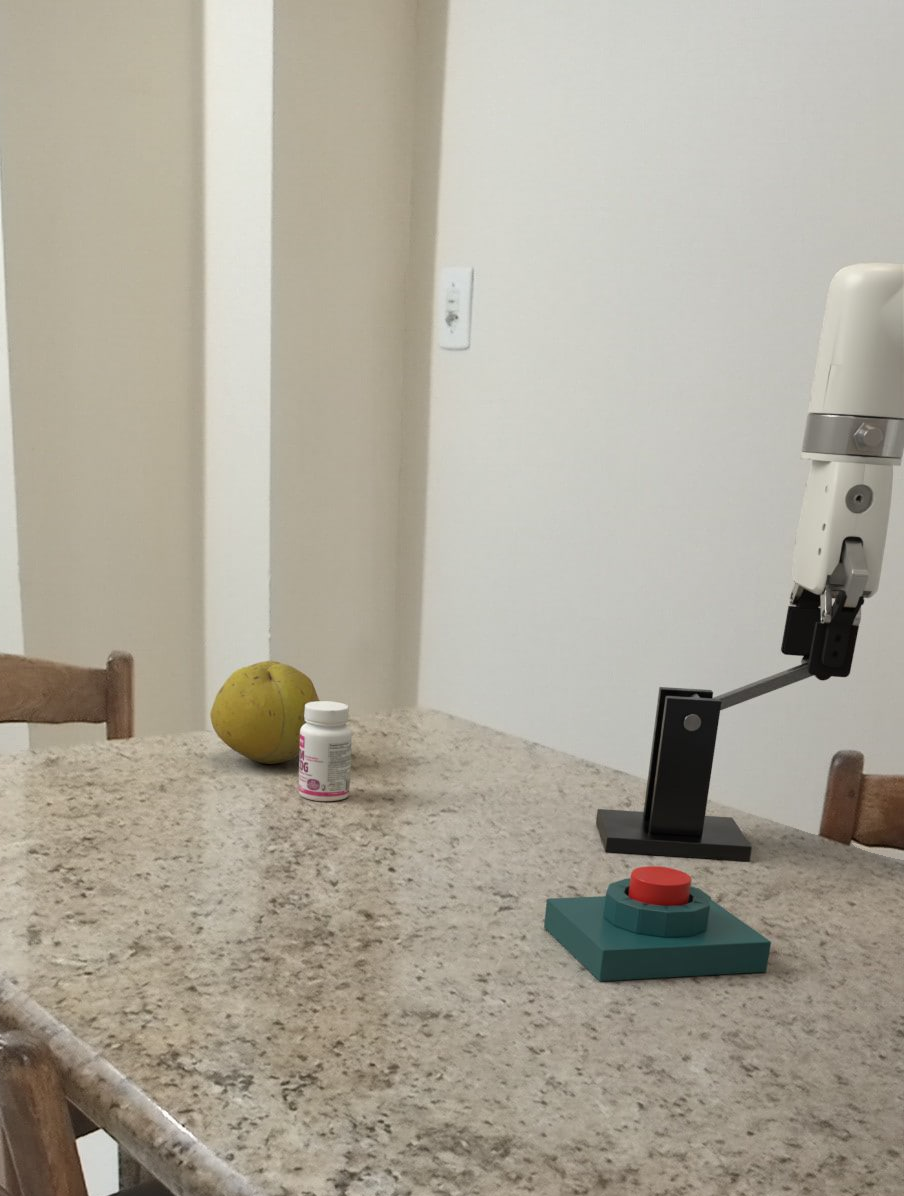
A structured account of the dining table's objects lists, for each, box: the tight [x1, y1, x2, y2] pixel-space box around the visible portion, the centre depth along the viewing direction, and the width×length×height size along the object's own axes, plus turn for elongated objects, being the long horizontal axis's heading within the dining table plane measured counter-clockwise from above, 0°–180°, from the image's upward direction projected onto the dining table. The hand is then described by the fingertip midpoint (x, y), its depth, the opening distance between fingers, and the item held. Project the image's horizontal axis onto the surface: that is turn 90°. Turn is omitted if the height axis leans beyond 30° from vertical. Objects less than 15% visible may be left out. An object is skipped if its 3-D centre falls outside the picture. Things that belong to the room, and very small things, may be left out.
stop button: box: [628, 865, 692, 906], centre depth 93 cm, size 4×4×2 cm
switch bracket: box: [595, 686, 753, 862], centre depth 117 cm, size 12×9×13 cm
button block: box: [543, 877, 772, 982], centre depth 94 cm, size 12×10×4 cm
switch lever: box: [689, 653, 832, 711], centre depth 114 cm, size 13×5×2 cm, turn 86°
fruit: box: [209, 660, 320, 765], centre depth 137 cm, size 11×12×10 cm
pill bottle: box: [297, 700, 353, 802], centre depth 126 cm, size 5×5×8 cm
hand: (813, 664), depth 113 cm, fingers open, 9 cm apart
